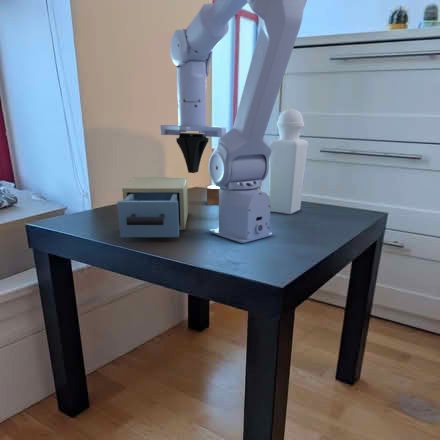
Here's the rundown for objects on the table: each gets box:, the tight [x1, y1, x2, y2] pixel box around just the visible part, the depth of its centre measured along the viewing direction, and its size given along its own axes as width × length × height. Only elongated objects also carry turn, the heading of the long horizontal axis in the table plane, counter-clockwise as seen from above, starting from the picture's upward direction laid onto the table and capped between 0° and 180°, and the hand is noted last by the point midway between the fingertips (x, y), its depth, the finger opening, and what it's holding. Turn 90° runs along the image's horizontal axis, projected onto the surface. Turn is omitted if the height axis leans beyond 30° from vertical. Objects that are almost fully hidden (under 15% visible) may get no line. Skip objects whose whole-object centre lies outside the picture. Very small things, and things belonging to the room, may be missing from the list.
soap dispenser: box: [268, 108, 309, 215], centre depth 94 cm, size 6×6×22 cm
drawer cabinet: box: [121, 176, 189, 231], centre depth 87 cm, size 14×12×8 cm
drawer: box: [116, 193, 180, 238], centre depth 77 cm, size 17×10×6 cm, turn 2°
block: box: [206, 185, 219, 206], centre depth 105 cm, size 4×4×4 cm
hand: (193, 172), depth 89 cm, fingers closed
